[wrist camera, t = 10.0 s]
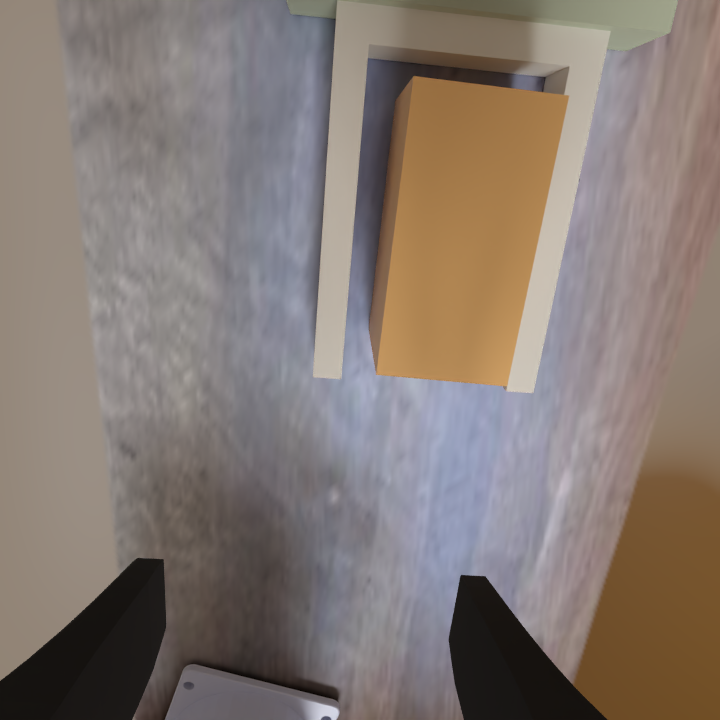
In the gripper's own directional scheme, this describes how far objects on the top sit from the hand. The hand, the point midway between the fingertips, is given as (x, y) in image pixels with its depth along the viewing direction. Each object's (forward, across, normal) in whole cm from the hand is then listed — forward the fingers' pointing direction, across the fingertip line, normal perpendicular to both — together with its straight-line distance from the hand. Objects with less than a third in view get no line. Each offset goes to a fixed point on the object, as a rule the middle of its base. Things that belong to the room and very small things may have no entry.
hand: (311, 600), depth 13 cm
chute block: (+10, -4, -8) cm, 13 cm away
